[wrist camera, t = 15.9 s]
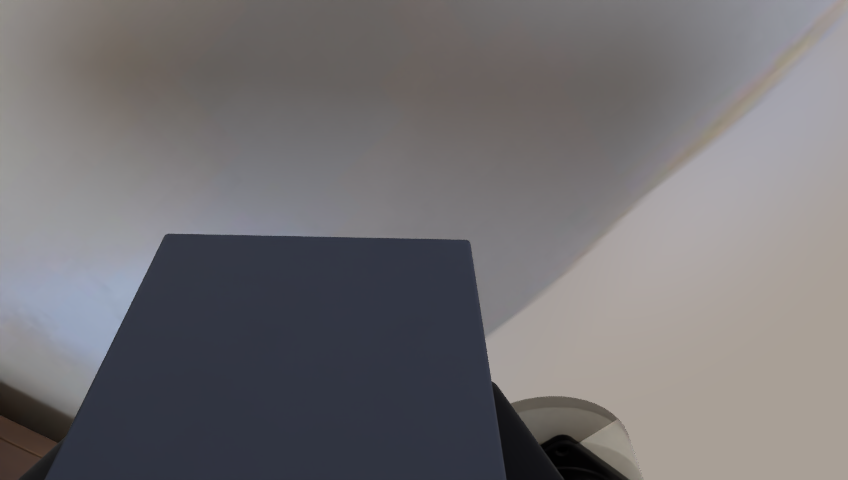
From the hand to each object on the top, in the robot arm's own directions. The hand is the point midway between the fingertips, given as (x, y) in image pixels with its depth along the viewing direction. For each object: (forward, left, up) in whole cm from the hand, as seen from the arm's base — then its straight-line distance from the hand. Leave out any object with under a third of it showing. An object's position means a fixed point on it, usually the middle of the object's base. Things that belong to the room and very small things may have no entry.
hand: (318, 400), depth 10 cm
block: (0, 0, -1) cm, 1 cm away
